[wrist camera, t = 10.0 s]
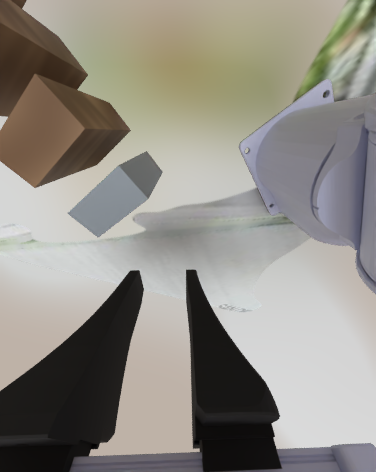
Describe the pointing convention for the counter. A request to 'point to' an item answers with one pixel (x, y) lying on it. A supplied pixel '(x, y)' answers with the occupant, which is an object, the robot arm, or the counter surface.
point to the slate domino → (117, 194)
